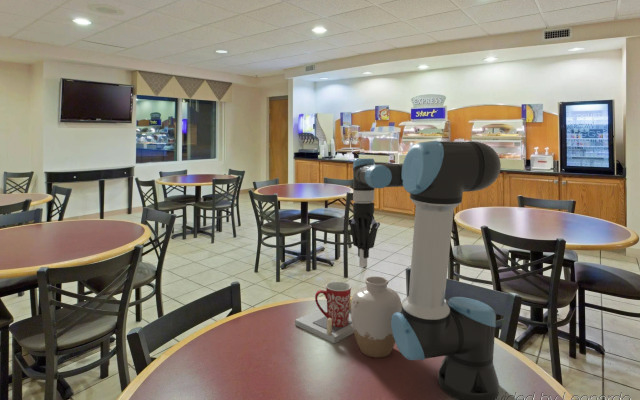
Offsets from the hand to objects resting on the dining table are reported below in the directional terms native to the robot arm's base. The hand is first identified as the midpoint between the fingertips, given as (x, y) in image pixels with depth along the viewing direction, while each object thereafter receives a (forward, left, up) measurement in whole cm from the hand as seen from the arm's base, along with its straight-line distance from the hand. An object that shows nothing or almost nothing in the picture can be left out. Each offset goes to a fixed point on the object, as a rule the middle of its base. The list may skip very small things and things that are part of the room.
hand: (363, 266), depth 139 cm
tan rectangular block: (+9, 0, -18) cm, 21 cm away
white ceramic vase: (-16, +14, -21) cm, 30 cm away
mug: (+3, +13, -18) cm, 23 cm away
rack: (+5, +9, -21) cm, 23 cm away
